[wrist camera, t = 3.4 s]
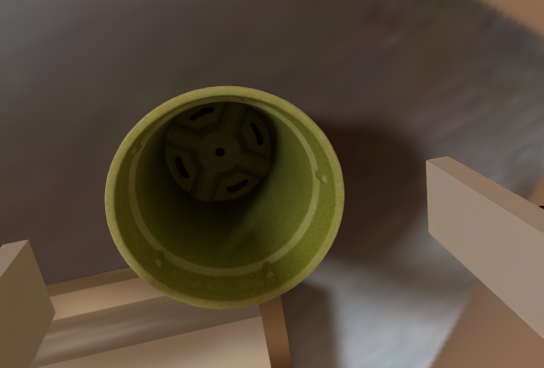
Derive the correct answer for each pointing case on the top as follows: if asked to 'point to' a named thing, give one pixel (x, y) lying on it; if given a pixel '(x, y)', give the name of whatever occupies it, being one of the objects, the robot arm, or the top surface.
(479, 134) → the top surface
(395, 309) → the top surface
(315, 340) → the top surface
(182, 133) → the plant pot
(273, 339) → the pedestal base
